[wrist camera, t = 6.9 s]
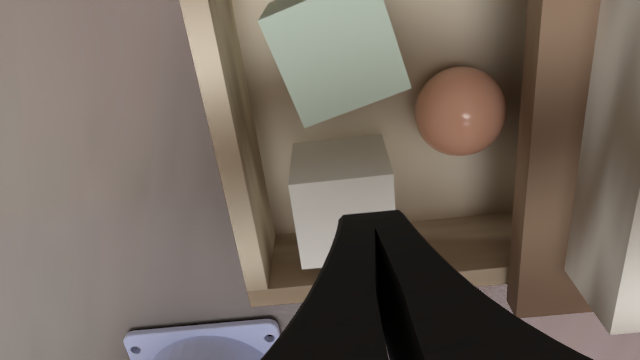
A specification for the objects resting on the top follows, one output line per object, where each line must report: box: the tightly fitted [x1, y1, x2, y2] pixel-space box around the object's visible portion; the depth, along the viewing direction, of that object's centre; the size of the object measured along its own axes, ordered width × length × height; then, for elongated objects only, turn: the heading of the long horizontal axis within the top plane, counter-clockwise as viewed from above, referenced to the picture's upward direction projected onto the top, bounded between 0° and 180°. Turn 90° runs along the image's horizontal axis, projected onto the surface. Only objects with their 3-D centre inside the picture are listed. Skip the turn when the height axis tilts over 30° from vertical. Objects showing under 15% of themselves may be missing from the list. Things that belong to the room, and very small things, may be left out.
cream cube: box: [288, 134, 395, 269], centre depth 19 cm, size 4×4×4 cm
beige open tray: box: [180, 0, 528, 307], centre depth 18 cm, size 13×16×4 cm
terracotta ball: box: [415, 66, 507, 156], centre depth 18 cm, size 3×3×3 cm
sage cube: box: [258, 0, 412, 128], centre depth 17 cm, size 4×4×4 cm
